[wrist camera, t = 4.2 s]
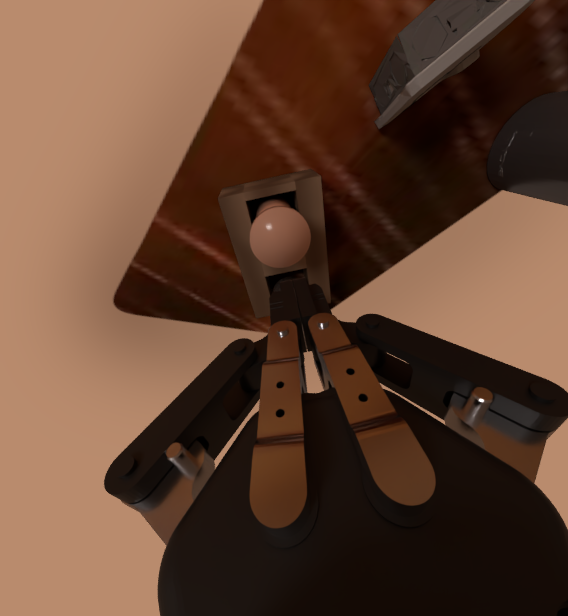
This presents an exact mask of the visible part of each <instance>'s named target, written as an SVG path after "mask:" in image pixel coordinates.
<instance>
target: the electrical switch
mask: <svg viewBox="0 0 568 616" xmlns="http://www.w3.org/2000/svg"><path fill="white" fill-rule="evenodd" d="M533 1H534V0H435V1H434V2H433V3H432V4H431V5H430V6H429V7H428V8H427V9H425V10H424V11H423V12H422V13H421V14H420V15H419V16H418V17H417V18H415V19H414V20H413V21H412V22H411V23H410V24H409V25H408V26H407V27H405V28H404V29H403V30H402V31H401V32H400V33H399V34H398V37H399V40H400V42H401V44H402V46H401V44H400V42H399V40H398V38H397V36H396V38H395V40H394V42H393V43H392V45H391V47H390V49H389V50H388V52H387V54H386V56H385V58H384V59H383V61H382V63H381V65H380V66H379V68H378V70H377V72H376V74H375V75H374V77H373V79H372V81H371V82H370V84H369V87H370V89H371V91H372V93H373V95H374V97H375V102H376V105H377V106H378V108H379V111H380V113H381V116H380V117H379V118H378V119H377V120H375V121H374V122H375V123H376V125H377V127H378V128H379V129H380V128H382V127H383V126H385V125H387V124H388V123H389V122H391V121H392V120H393V119H394V118H396V117H397V116H398V115H399V114H401V113H402V112H403V111H405V110H406V109H407V108H408V107H410V106H411V105H412V104H413V103H414V102H416V101H417V100H418V99H419V98H421V97H422V96H423V95H424V94H426V93H427V92H428V91H429V90H431V89H432V88H433V87H434V86H436V85H437V84H438V83H439V82H441V81H442V80H444V79H446V78H448V77H450V76H453V75H455V74H457V73H459V72H461V71H462V70H464V69H465V68H466V67H468V66H469V65H470V64H472V63H473V62H474V61H476V60H477V59H478V58H479V56H480V54H479V50H480V49H481V48H482V47H483V46H484V45H485V44H487V43H488V42H489V41H490V40H491V39H492V38H493V37H495V36H496V35H497V34H498V33H499V32H500V31H501V30H503V29H504V28H505V27H506V26H507V25H508V24H510V23H511V22H512V21H513V20H514V19H515V18H516V17H518V16H519V15H520V14H521V13H522V12H523V11H524V10H525V9H526V8H527V7H528V6H529V5H530V4H531V3H532V2H533ZM402 47H403V48H402ZM403 49H404V50H403ZM404 51H405V52H404Z"/></svg>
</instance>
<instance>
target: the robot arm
mask: <svg viewBox="0 0 568 616" xmlns="http://www.w3.org/2000/svg"><path fill="white" fill-rule="evenodd" d="M487 174H488V177H489V180H490V182H491V183H492V185H493V186H495V187H496V188H498V189H501V190H505V191H509V192H513V193H517V194H521V195H525V196H529V197H533V198H537V199H542V200H545V201H550V202H554V203H558V204H562V205H566V206H568V91H562V92H554V93H549V94H544V95H542V96H540V97H537V98H535V99H533V100H532V101H530V102H529V103H527V104H526V105H524V106H523V107H522V108H521V109H519V110H518V111H517V112H516V113H515V114H514V115H513V116H512V117H511V118H510V119H509V120H508V122H507V123H506V124H505V125H504V127H503V128H502V130H501V131H500V132H499V134H498V136H497V138H496V139H495V141H494V143H493V145H492V148H491V151H490V154H489V158H488V163H487ZM293 283H294V287H293ZM293 283H292V280H288V281H283V282H280V289H281V291H277V292H272V294H271V296H270V298H269V303H270V318H271V327H270V328H269V330H268V335H267V336H266V337H264V338H263V339H261V340H259V341H257V342H254V343H253V342H252V341H251V340H249V339H245V338H244V339H238V340H235V341H234V342H232V343H231V344H229V345H228V347H226V348H225V349H224V350H223V351H222V352H221V353H220V354H219V355H218V356H217V357H216V358H215V359H214V360H213V361H212V362H211V364H209V365H208V367H207V368H206V369H204V370H203V371H202V373H200V375H199V376H197V377H196V378H195V379H194V381H192V383H190V385H188V387H186V388H185V389H184V390H183V392H182V393H180V395H179V396H178V397H177V398H176V399H175V400H174V401H173V402H172V403H171V404H170V405H169V406H168V407H167V408H166V409H165V410H164V411H163V412H162V413H161V414H160V415H159V416H158V417H157V418H156V419H155V420H154V421H153V422H152V423H151V424H150V425H149V426H148V427H147V428H146V429H145V430H144V431H143V432H142V433H141V434H140V435H139V436H138V437H137V438H136V439H135V440H134V441H133V442H132V443H131V444H130V445H129V446H128V447H127V448H126V449H125V450H124V451H123V452H122V453H121V454H120V455H119V456H118V457H117V458H116V459H115V460H114V461H113V463H112V464H111V465H110V467H109V469H108V471H107V473H106V476H105V480H104V485H105V489H106V491H107V492H108V493H109V494H111V495H113V496H115V497H117V498H118V499H120V500H121V501H122V502H123V503H124V504H126V505H127V506H129V507H131V508H133V509H135V510H137V511H139V512H140V513H141V514H142V516H143V517H144V518H145V519H146V520H147V522H148V523H149V524H150V525H151V527H152V528H153V529H154V531H155V532H156V533H157V534H158V536H159V537H160V538H161V539H162V541H163V542H164V543H165V544H166V545H167V546H166V549H165V552H164V555H163V558H162V562H161V566H160V571H159V578H158V602H159V610H160V616H568V529H567V527H566V525H565V523H564V521H563V519H562V518H561V516H560V514H559V513H558V511H557V509H556V508H555V507H554V505H553V504H552V503H551V501H550V500H549V499H548V498H547V497H546V495H545V494H544V493H543V492H542V491H541V490H540V489H539V488H538V487H537V486H536V485H535V484H534V482H535V479H536V475H537V471H538V468H539V464H540V461H541V457H542V454H543V450H544V447H545V443H546V440H547V439H548V438H549V437H550V436H551V435H552V434H553V433H554V432H555V431H556V430H557V429H558V427H560V426H561V424H562V423H563V422H564V421H565V420H566V419H567V418H568V393H567V392H566V391H565V390H564V389H563V388H561V387H560V386H558V385H557V384H555V383H553V382H551V381H549V380H547V379H544V378H542V377H539V376H536V375H534V374H531V373H528V372H526V371H523V370H521V369H518V368H516V367H513V366H510V365H508V364H505V363H503V362H500V361H497V360H495V359H492V358H490V357H487V356H485V355H482V354H479V353H477V352H474V351H471V350H469V349H466V348H464V347H461V346H459V345H456V344H453V343H451V342H448V341H446V340H443V339H440V338H438V337H435V336H433V335H430V334H427V333H425V332H422V331H419V330H417V329H414V328H412V327H409V326H407V325H404V324H401V323H399V322H396V321H394V320H391V319H389V318H386V317H383V316H381V315H378V314H366V315H363V316H361V317H359V318H358V319H357V321H356V323H353V322H342V321H340V320H337V318H336V317H335V316H334V315H332V313H331V310H330V308H329V305H328V303H327V300H326V298H325V295H324V293H323V290H322V288H321V287H320V286H319V285H317V284H311V285H308V284H307V281H306V278H305V277H303V278H298V279H293ZM294 289H295V292H294ZM295 294H296V296H295ZM296 299H297V300H296ZM302 327H303V329H302ZM303 332H304V334H303ZM304 336H305V339H304ZM305 340H306V345H307V349H308V351H312V352H313V357H314V362H315V366H316V369H317V372H318V375H319V377H320V380H321V383H322V386H323V389H324V391H322V392H320V393H316V394H315V393H307V385H306V375H305V366H304V354H303V353H304V352H307V350H306V345H305ZM387 353H389V354H391V355H393V356H395V357H397V358H400V359H402V360H404V361H406V362H407V363H405V362H404V361H401V360H399V359H397V358H395V357H393V356H391V355H389V354H387ZM380 383H381V384H383V385H384V386H386V387H388V388H390V389H391V390H393V391H395V392H396V393H398V394H400V395H402V396H403V397H405V398H407V399H408V400H410V401H412V402H414V403H415V404H417V405H419V406H420V407H422V408H424V409H426V410H427V411H429V412H431V413H433V414H434V415H436V416H438V417H439V418H441V419H443V420H445V424H446V425H444V424H443V423H441V422H440V421H438V420H436V419H435V418H433V417H432V416H430V415H428V414H427V413H425V412H424V411H422V410H420V409H419V408H417V407H416V406H414V405H412V404H411V403H409V402H408V401H406V400H404V399H403V398H401V397H400V396H398V395H396V394H394V393H392V392H390V391H388V390H385V389H383V388H382V387H381V385H380ZM259 399H260V405H259V411H258V412H257V413H255V414H254V415H253V416H252V417H251V418H250V420H249V421H248V422H247V423H246V425H245V426H244V428H243V429H242V431H241V432H240V434H239V435H238V437H237V438H236V440H235V441H234V443H233V444H232V445H231V447H230V448H229V450H228V451H227V453H226V454H225V456H224V457H223V459H222V460H221V462H220V463H219V465H218V466H217V467H216V469H215V464H214V460H215V459H216V457H217V456H218V455H219V453H220V452H221V450H222V449H223V448H224V446H225V445H226V444H227V442H228V441H229V440H230V438H231V437H232V436H233V434H234V433H235V432H236V430H237V429H238V427H239V426H240V425H241V423H242V422H243V421H244V419H245V418H246V417H247V415H248V414H249V413H250V411H251V410H252V408H253V407H254V406H255V404H256V403H257V401H258V400H259Z"/></svg>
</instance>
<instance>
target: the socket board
mask: <svg viewBox="0 0 568 616" xmlns="http://www.w3.org/2000/svg"><path fill="white" fill-rule="evenodd" d="M289 191H291V193H292V200H293V206H294V209H295V210H296V211H298V212H299V213H300V214H301V215H302V216H303V217H304V219H305V220H306V222H307V224H308V226H309V229H310V233H311V241H310V246H309V249H308V251H307V253H306V254H305V255H304V257H303V258H302V259H301V260H300V261H298V262H297V263H295V264H294V265H291V266H289V267H284V268H274V267H270V266H267V265H265V264H264V263H262V262H261V261H260V260H258V259H257V257H256V256H255V255H254V253H253V251H252V249H251V246H250V229H251V226H252V223H253V221H254V219H253V215H252V211H251V207H250V203H249V200H253V199H257V198H262V197H267V196H271V195H276V194H280V193H285V192H289ZM218 201H219V204H220V207H221V210H222V214H223V217H224V220H225V223H226V226H227V229H228V232H229V235H230V238H231V242H232V245H233V248H234V251H235V254H236V257H237V260H238V263H239V266H240V269H241V273H242V276H243V279H244V282H245V285H246V288H247V291H248V294H249V297H250V301H251V304H252V307H253V310H254V313H255V316H256V318H260V317H265V316H270V303H269V298H270V296H271V294H272V292H273V290H271V287H270V283H269V279H268V276H271V275H276V274H281V273H285V272H290V271H295V270H300V269H303V273H304V277H305V278H306V281H307V284H308V285H311V284H317V285H319V286H320V287H321V288H322V290H323V293H324V295H325V298H326V300H327V303H331V297H330V284H329V271H328V259H327V246H326V234H325V221H324V208H323V196H322V183H321V175H319V174H318V173H316V172H315V171H313V170H312V169H309V170H304V171H299V172H295V173H290V174H286V175H281V176H277V177H272V178H268V179H263V180H259V181H254V182H250V183H245V184H241V185H236V186H232V187H227V188H223V189H222V191H221V193H220V195H219V197H218Z"/></svg>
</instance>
